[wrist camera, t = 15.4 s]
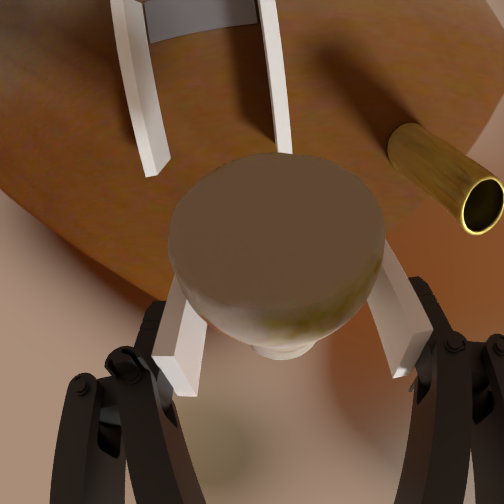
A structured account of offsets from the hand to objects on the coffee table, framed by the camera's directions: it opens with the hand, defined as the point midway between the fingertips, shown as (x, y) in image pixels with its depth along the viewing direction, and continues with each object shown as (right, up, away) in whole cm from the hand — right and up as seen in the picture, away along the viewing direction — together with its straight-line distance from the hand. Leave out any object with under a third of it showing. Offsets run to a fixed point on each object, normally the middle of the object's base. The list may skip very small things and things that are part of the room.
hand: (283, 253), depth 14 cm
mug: (0, +1, +1) cm, 1 cm away
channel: (-6, +18, +11) cm, 22 cm away
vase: (+16, +12, +15) cm, 25 cm away
